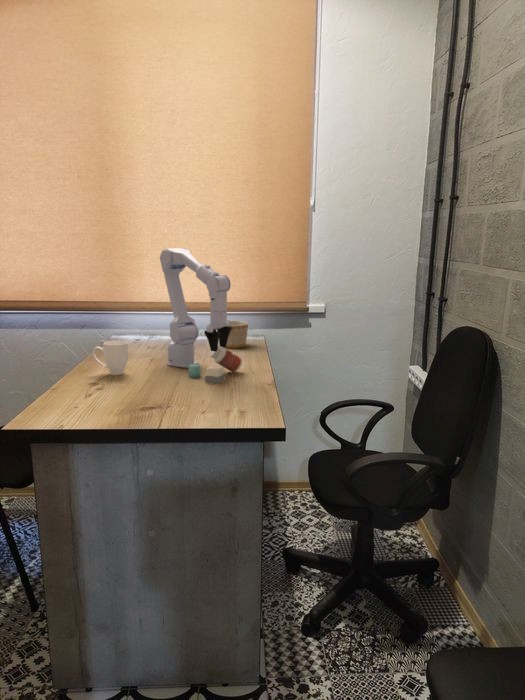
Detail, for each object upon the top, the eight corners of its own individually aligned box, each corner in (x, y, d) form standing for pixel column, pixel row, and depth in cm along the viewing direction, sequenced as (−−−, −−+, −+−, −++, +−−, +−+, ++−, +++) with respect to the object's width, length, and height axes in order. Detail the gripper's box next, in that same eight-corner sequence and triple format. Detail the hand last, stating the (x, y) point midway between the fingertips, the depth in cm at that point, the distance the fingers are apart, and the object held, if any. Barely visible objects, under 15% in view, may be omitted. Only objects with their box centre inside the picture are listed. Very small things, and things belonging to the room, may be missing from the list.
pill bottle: (245, 358, 181) (220, 342, 177) (237, 373, 180) (212, 357, 175) (237, 358, 187) (213, 343, 182) (230, 373, 185) (206, 358, 181)
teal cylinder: (186, 377, 177) (186, 366, 176) (192, 374, 180) (192, 363, 179) (196, 378, 175) (196, 367, 174) (202, 375, 179) (202, 364, 178)
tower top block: (206, 375, 171) (206, 368, 171) (212, 372, 175) (212, 365, 175) (218, 377, 170) (218, 369, 169) (223, 373, 174) (223, 366, 173)
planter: (214, 346, 224) (213, 323, 222) (231, 341, 234) (231, 319, 232) (236, 350, 217) (236, 326, 215) (253, 345, 228) (253, 323, 225)
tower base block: (205, 382, 171) (205, 375, 171) (211, 379, 176) (211, 372, 175) (218, 384, 170) (218, 377, 169) (224, 380, 174) (224, 373, 174)
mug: (130, 370, 184) (129, 339, 181) (127, 376, 176) (126, 344, 173) (96, 370, 182) (94, 340, 179) (92, 377, 174) (90, 345, 171)
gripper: (219, 314, 166) (219, 354, 170) (237, 308, 180) (237, 345, 183) (200, 312, 169) (201, 352, 172) (219, 307, 182) (219, 343, 185)
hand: (218, 348), depth 178 cm, fingers open, 7 cm apart
